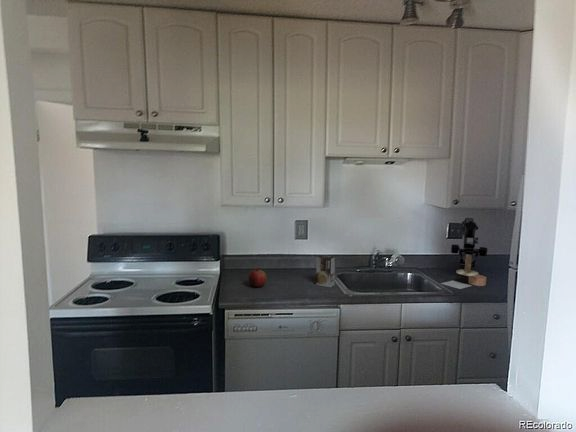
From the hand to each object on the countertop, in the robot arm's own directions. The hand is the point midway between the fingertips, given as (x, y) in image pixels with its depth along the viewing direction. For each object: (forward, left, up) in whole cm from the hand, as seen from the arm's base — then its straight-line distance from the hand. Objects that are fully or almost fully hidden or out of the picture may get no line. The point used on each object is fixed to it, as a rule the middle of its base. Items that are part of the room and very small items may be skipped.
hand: (468, 262), depth 218 cm
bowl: (+1, +9, -14) cm, 16 cm away
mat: (-4, -4, -14) cm, 15 cm away
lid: (-1, +1, -7) cm, 7 cm away
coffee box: (-43, -69, -14) cm, 82 cm away
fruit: (-60, -103, -14) cm, 120 cm away
